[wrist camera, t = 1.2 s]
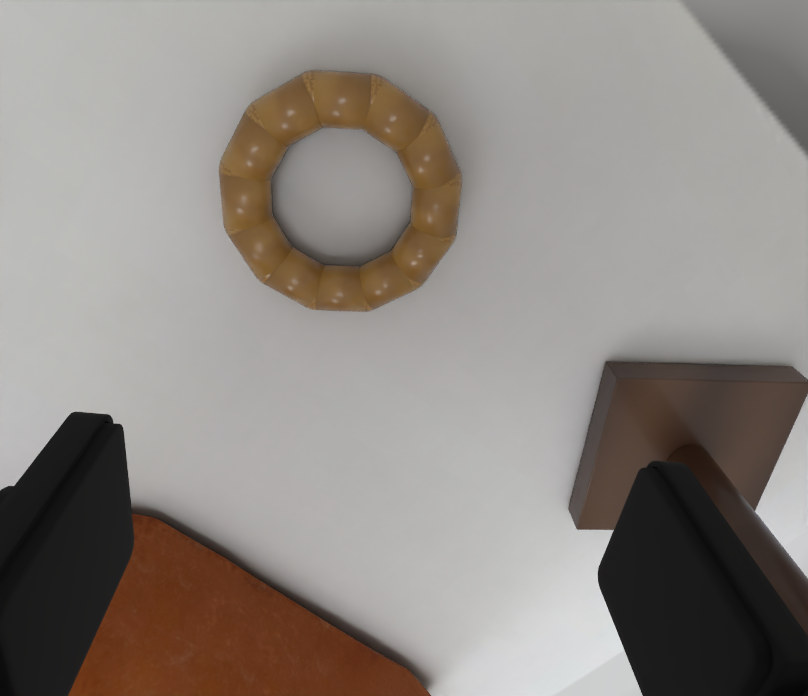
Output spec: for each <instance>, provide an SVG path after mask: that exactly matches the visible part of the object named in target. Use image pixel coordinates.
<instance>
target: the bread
mask: <svg viewBox="0 0 808 696" xmlns="http://www.w3.org/2000/svg"><path fill="white" fill-rule="evenodd" d="M132 518H133V528H134V547H133V551H132V555H131V558H130V560H129V563H128V565H127V567H126V569H125V571H124V574H123V576H122V578H121V580H120V582H119V585H118V587H117V589H116V591H115V593H114V596H113V598H112V600H111V602H110V604H109V607H108V609H107V611H106V613H105V615H104V618H103V620H102V622H101V624H100V626H99V629H98V631H97V633H96V635H95V638H94V640H93V642H92V644H91V646H90V649H89V651H88V653H87V655H86V657H85V660H84V662H83V664H82V666H81V668H80V671H79V673H78V675H77V677H76V679H75V682H74V684H73V686H72V688H71V690H70V693H69V695H68V696H431V695H430V694H429V693H428V691H427V690H426V689H425V688H424V687H423V685H422V684H421V683H420V682H419V681H418V680H417V679H416V678H415V676H414V675H413V674H412V673H411V672H410V671H409V670H408V669H406V668H405V667H403V666H401V665H399V664H398V663H396V662H394V661H392V660H390V659H389V658H387V657H385V656H383V655H381V654H380V653H378V652H376V651H374V650H373V649H371V648H369V647H368V646H366V645H364V644H363V643H361V642H359V641H357V640H356V639H354V638H352V637H351V636H349V635H347V634H345V633H344V632H342V631H340V630H339V629H337V628H335V627H334V626H332V625H330V624H329V623H327V622H326V621H324V620H322V619H321V618H319V617H318V616H316V615H314V614H313V613H311V612H310V611H308V610H306V609H305V608H303V607H302V606H300V605H298V604H297V603H295V602H294V601H292V600H290V599H289V598H287V597H286V596H284V595H282V594H281V593H279V592H278V591H276V590H274V589H273V588H271V587H270V586H268V585H266V584H265V583H263V582H262V581H260V580H258V579H257V578H255V577H254V576H252V575H251V574H249V573H247V572H246V571H244V570H243V569H241V568H240V567H238V566H237V565H235V564H234V563H232V562H230V561H229V560H227V559H226V558H224V557H222V556H220V555H219V554H217V553H215V552H214V551H212V550H210V549H208V548H207V547H205V546H203V545H201V544H200V543H198V542H196V541H194V540H193V539H191V538H189V537H188V536H186V535H184V534H182V533H181V532H179V531H177V530H175V529H174V528H172V527H170V526H169V525H167V524H165V523H163V522H162V521H160V520H158V519H156V518H154V517H148V516H142V515H136V514H132Z"/></svg>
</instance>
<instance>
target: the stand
mask: <svg viewBox="0 0 808 696" xmlns="http://www.w3.org/2000/svg"><path fill="white" fill-rule="evenodd" d="M807 394H808V379H807V378H805V377H804V376H803V375H802V374H800V373H799V372H798V371H797V370H796V369H794V368H793V367H784V366H747V365H710V364H673V363H636V362H606V363H605V367H604V371H603V375H602V379H601V383H600V387H599V391H598V395H597V399H596V403H595V407H594V411H593V414H592V418H591V422H590V426H589V430H588V434H587V438H586V442H585V446H584V450H583V454H582V458H581V462H580V466H579V470H578V474H577V477H576V481H575V485H574V489H573V493H572V497H571V501H570V505H569V511H570V514H571V516H572V519H573V521H574V524H575V526H576V528H577V529H578V530H614V529H615V527H616V524H617V522H618V519H619V517H620V514H621V512H622V510H623V507H624V505H625V502H626V500H627V497H628V495H629V493H630V490H631V488H632V485H633V483H634V480H635V478H636V476H637V473H638V471H639V470H640V469H641V468H646V467H647V465H648V464H649V463H650V462H651V461H666V462H677V463H683V464H686V465H687V466H688V467H689V468H690V470H691V471H692V472H693V474H694V475H695V477H696V478H697V479H698V481H699V482H700V484H701V485H702V487H703V488H704V489H705V491H706V492H707V494H708V495H709V497H710V498H711V499H712V501H713V502H714V504H715V505H716V506H717V508H718V509H719V511H720V512H721V514H722V515H723V516H724V518H725V519H726V521H727V522H728V523H729V525H730V526H731V528H732V529H733V531H734V532H735V533H736V535H737V536H738V538H739V539H740V541H741V542H742V543H743V545H744V546H745V548H746V549H747V550H748V552H749V553H750V555H751V556H752V558H753V559H754V560H755V562H756V563H757V565H758V566H759V567H760V569H761V570H762V572H763V573H764V575H765V576H766V577H767V579H768V580H769V582H770V583H771V584H772V586H773V587H774V589H775V590H776V592H777V593H778V594H779V596H780V597H781V599H782V600H783V602H784V603H785V604H786V606H787V607H788V609H789V610H790V611H791V613H792V614H793V616H794V617H795V619H796V620H797V621H798V623H799V624H800V626H801V627H802V628H803V630H804V631H805V633H806V634H807V636H808V578H807V577H806V576H805V575H804V573H803V572H802V571H801V570H800V568H799V567H798V566H797V564H796V563H795V562H794V561H793V559H792V558H791V557H790V556H789V554H788V553H787V552H786V550H785V549H784V548H783V547H782V545H781V544H780V543H779V542H778V540H777V539H776V538H775V536H774V535H773V534H772V533H771V531H770V530H769V529H768V528H767V526H766V525H765V524H764V522H763V521H762V520H761V519H760V517H759V516H758V515H757V514H756V512H755V509H756V507H757V505H758V503H759V500H760V498H761V496H762V494H763V492H764V489H765V487H766V485H767V483H768V480H769V478H770V476H771V474H772V472H773V469H774V467H775V465H776V463H777V461H778V458H779V456H780V454H781V452H782V449H783V447H784V445H785V443H786V441H787V438H788V436H789V434H790V432H791V430H792V427H793V425H794V423H795V421H796V418H797V416H798V414H799V412H800V410H801V407H802V405H803V403H804V401H805V399H806V396H807Z"/></svg>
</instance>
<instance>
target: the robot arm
mask: <svg viewBox="0 0 808 696" xmlns="http://www.w3.org/2000/svg"><path fill="white" fill-rule="evenodd" d="M133 547H134V528H133V518H132V509H131V499H130V489H129V479H128V470H127V460H126V450H125V440H124V431H123V427H122V425H121V424H113V419H112V417H111V416H110V415H108V414H96V413H84V412H73V413H71V414H70V415H69V416H68V417H67V419H66V420H65V421H64V423H63V424H62V425H61V426H60V428H59V429H58V430H57V432H56V433H55V434H54V435H53V437H52V438H51V439H50V441H49V442H48V443H47V445H46V446H45V447H44V448H43V450H42V451H41V452H40V454H39V455H38V456H37V457H36V459H35V460H34V461H33V463H32V464H31V465H30V467H29V468H28V469H27V470H26V472H25V473H24V474H23V476H22V477H21V478H20V479H19V481H18V482H17V483H16V485H15V486H8V487H6V488H4V489H2V490H1V491H0V696H68V695H69V693H70V690H71V688H72V686H73V684H74V682H75V679H76V677H77V675H78V673H79V671H80V668H81V666H82V664H83V662H84V660H85V657H86V655H87V653H88V651H89V649H90V646H91V644H92V642H93V640H94V638H95V635H96V633H97V631H98V629H99V626H100V624H101V622H102V620H103V618H104V615H105V613H106V611H107V609H108V607H109V604H110V602H111V600H112V598H113V596H114V593H115V591H116V589H117V587H118V585H119V582H120V580H121V578H122V576H123V574H124V571H125V569H126V567H127V565H128V563H129V560H130V558H131V555H132V551H133ZM598 582H599V586H600V589H601V592H602V594H603V597H604V599H605V602H606V604H607V607H608V609H609V612H610V614H611V617H612V619H613V622H614V625H615V627H616V630H617V632H618V635H619V637H620V640H621V642H622V645H623V647H624V650H625V652H626V655H627V657H628V660H629V662H630V665H631V667H632V670H633V672H634V675H635V677H636V680H637V682H638V685H639V687H640V690H641V692H642V695H643V696H808V636H807V634H806V633H805V631H804V630H803V628H802V627H801V626H800V624H799V623H798V621H797V620H796V619H795V617H794V616H793V614H792V613H791V611H790V610H789V609H788V607H787V606H786V604H785V603H784V602H783V600H782V599H781V597H780V596H779V594H778V593H777V592H776V590H775V589H774V587H773V586H772V584H771V583H770V582H769V580H768V579H767V577H766V576H765V575H764V573H763V572H762V570H761V569H760V567H759V566H758V565H757V563H756V562H755V560H754V559H753V558H752V556H751V555H750V553H749V552H748V550H747V549H746V548H745V546H744V545H743V543H742V542H741V541H740V539H739V538H738V536H737V535H736V533H735V532H734V531H733V529H732V528H731V526H730V525H729V523H728V522H727V521H726V519H725V518H724V516H723V515H722V514H721V512H720V511H719V509H718V508H717V506H716V505H715V504H714V502H713V501H712V499H711V498H710V497H709V495H708V494H707V492H706V491H705V489H704V488H703V487H702V485H701V484H700V482H699V481H698V479H697V478H696V477H695V475H694V474H693V472H692V471H691V470H690V468H689V467H688V466H687V465H686V464H683V463H677V462H666V461H651V462H650V463H649V464H648V465H647V467H646V468H641V469H640V470H639V471H638V473H637V476H636V478H635V480H634V483H633V485H632V488H631V490H630V493H629V495H628V497H627V500H626V502H625V505H624V507H623V510H622V512H621V514H620V517H619V519H618V522H617V524H616V527H615V529H614V531H613V534H612V536H611V539H610V541H609V544H608V546H607V548H606V551H605V553H604V556H603V558H602V561H601V563H600V565H599V569H598Z"/></svg>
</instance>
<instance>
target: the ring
mask: <svg viewBox="0 0 808 696" xmlns="http://www.w3.org/2000/svg"><path fill="white" fill-rule="evenodd" d="M323 127H324V128H342V129H360V130H364V131H366V132H367V133H369V134H370V135H372V136H373V137H374V138H376V139H377V140H379V141H380V142H382V143H383V144H385V145H386V146H388V147H389V148H391V149H392V150H394V151H395V152H396V153H397V155H398V157H399V159H400V161H401V163H402V165H403V167H404V169H405V171H406V173H407V175H408V177H409V179H410V181H411V183H412V186H413V190H412V205H411V220H410V223H409V225H408V226H407V228H406V229H405V231H404V232H403V234H402V235H401V237H400V238H399V240H398V241H397V243H396V244H395V246H394V247H393V249H392V250H391V251H390V252H388V253H386V254H384V255H382V256H380V257H378V258H376V259H374V260H372V261H370V262H368V263H366V264H364V265H362V266H334V265H323V264H321V263H319V262H317V261H316V260H314V259H312V258H310V257H309V256H307V255H305V254H304V253H302V252H300V251H298V250H297V249H295V248H293V247H292V246H291V244H290V243H289V241H288V240H287V238H286V236H285V235H284V233H283V232H282V230H281V228H280V227H279V225H278V224H277V222H276V220H275V219H274V217H273V216H272V194H271V178H272V176H273V174H274V172H275V170H276V168H277V167H278V165H279V163H280V161H281V159H282V158H283V156H284V154H285V152H286V150H287V148H288V147H289V146H290V145H292V144H293V143H295V142H297V141H299V140H301V139H303V138H304V137H306V136H308V135H310V134H312V133H314V132H315V131H317V130H319V129H321V128H323ZM219 177H220V189H221V201H222V213H223V223H224V228H225V231H226V233H227V234H228V236H229V237H230V239H231V240H232V242H233V243H234V245H235V246H236V248H237V249H238V251H239V252H240V254H241V255H242V257H243V258H244V260H245V261H246V263H247V264H248V266H249V267H250V269H251V270H252V272H253V273H254V275H255V276H256V277H257V279H258V280H259V281H260V282H262V283H263V284H265V285H267V286H269V287H270V288H272V289H274V290H276V291H278V292H280V293H281V294H283V295H285V296H287V297H289V298H290V299H292V300H294V301H296V302H298V303H300V304H301V305H303V306H305V307H307V308H309V309H312V310H327V311H358V312H367V311H372V310H374V309H376V308H379V307H381V306H383V305H385V304H387V303H389V302H391V301H393V300H395V299H397V298H399V297H401V296H404V295H406V294H408V293H410V292H412V291H414V290H416V289H418V288H419V287H421V286H422V285H423V284H424V282H425V281H426V280H427V278H428V277H429V276H430V274H431V273H432V271H433V270H434V269H435V267H436V266H437V264H438V263H439V262H440V260H441V259H442V257H443V256H444V255H445V253H446V252H447V250H448V249H449V248H450V246H451V245H452V243H453V242H454V240H455V237H456V233H457V224H458V214H459V205H460V195H461V186H462V176H461V172H460V169H459V167H458V165H457V162H456V160H455V158H454V156H453V153H452V151H451V149H450V147H449V144H448V142H447V140H446V138H445V135H444V133H443V131H442V129H441V126H440V124H439V122H438V120H437V118H436V117H435V115H434V114H433V113H432V112H431V111H429V110H428V109H426V108H425V107H424V106H422V105H421V104H419V103H418V102H417V101H415V100H414V99H412V98H411V97H410V96H408V95H407V94H405V93H404V92H403V91H401V90H400V89H398V88H397V87H396V86H394V85H393V84H391V83H390V82H388V81H387V80H386V79H384V78H383V77H381V76H378V75H375V74H365V73H349V72H332V71H316V70H315V71H307V72H304V73H302V74H301V75H299V76H297V77H295V78H294V79H292V80H290V81H288V82H287V83H285V84H283V85H281V86H280V87H278V88H276V89H274V90H273V91H271V92H269V93H267V94H266V95H264V96H262V97H260V98H259V99H257V100H255V101H254V102H252V103H251V104H250V105H249V106H248V107H247V109H246V111H245V112H244V114H243V116H242V118H241V120H240V122H239V124H238V126H237V128H236V130H235V132H234V134H233V136H232V138H231V140H230V142H229V144H228V146H227V148H226V150H225V152H224V154H223V156H222V158H221V161H220V164H219Z"/></svg>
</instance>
